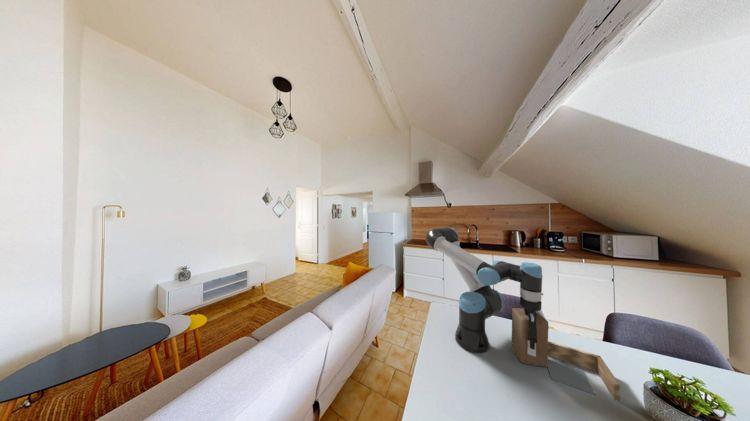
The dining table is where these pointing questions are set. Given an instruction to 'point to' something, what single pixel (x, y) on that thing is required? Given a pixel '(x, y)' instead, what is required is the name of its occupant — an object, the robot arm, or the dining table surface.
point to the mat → (569, 376)
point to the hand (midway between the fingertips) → (529, 345)
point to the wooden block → (521, 333)
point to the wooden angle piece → (586, 364)
